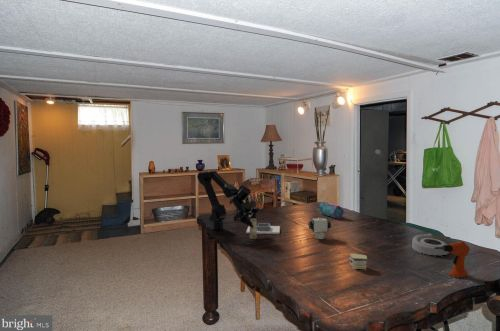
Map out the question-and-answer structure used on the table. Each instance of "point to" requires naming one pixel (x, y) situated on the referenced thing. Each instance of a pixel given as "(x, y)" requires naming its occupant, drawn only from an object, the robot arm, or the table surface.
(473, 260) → the table surface
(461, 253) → the toy drill
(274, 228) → the socket plate
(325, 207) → the pencil case
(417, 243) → the turbocharger housing
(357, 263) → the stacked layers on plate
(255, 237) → the birch pin
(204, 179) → the robot arm
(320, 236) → the pneumatic valve
